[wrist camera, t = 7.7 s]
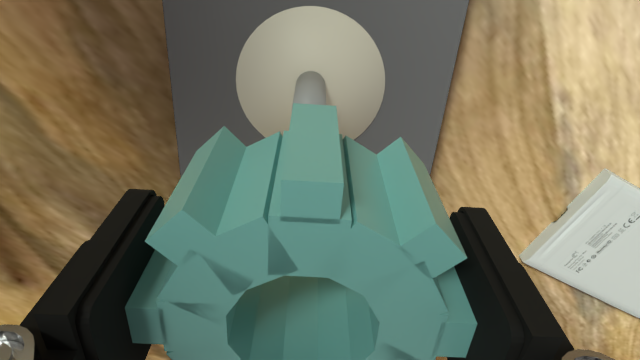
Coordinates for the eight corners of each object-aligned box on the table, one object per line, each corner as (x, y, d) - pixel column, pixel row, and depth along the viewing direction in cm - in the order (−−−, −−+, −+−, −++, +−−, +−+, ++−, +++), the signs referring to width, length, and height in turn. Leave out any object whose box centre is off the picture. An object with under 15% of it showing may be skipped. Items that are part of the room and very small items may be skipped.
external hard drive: (634, 308, 34) (514, 250, 31) (725, 236, 31) (600, 163, 28) (647, 324, 33) (524, 265, 30) (745, 251, 29) (615, 175, 26)
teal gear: (162, 95, 10) (89, 168, 7) (463, 114, 10) (528, 194, 7) (188, 312, 13) (148, 429, 10) (412, 323, 14) (440, 439, 10)
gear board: (164, -83, 21) (111, -89, 15) (471, -58, 21) (521, -56, 16) (198, 288, 32) (175, 356, 27) (395, 298, 33) (410, 367, 28)
